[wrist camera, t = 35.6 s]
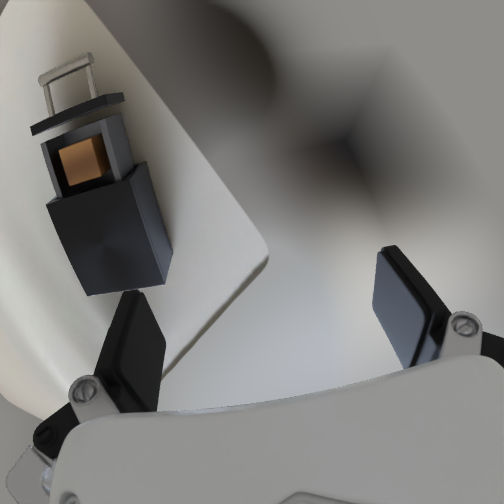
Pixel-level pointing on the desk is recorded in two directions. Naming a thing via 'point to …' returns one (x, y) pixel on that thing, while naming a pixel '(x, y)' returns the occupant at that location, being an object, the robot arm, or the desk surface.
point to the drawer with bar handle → (83, 130)
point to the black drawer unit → (114, 234)
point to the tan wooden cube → (85, 159)
